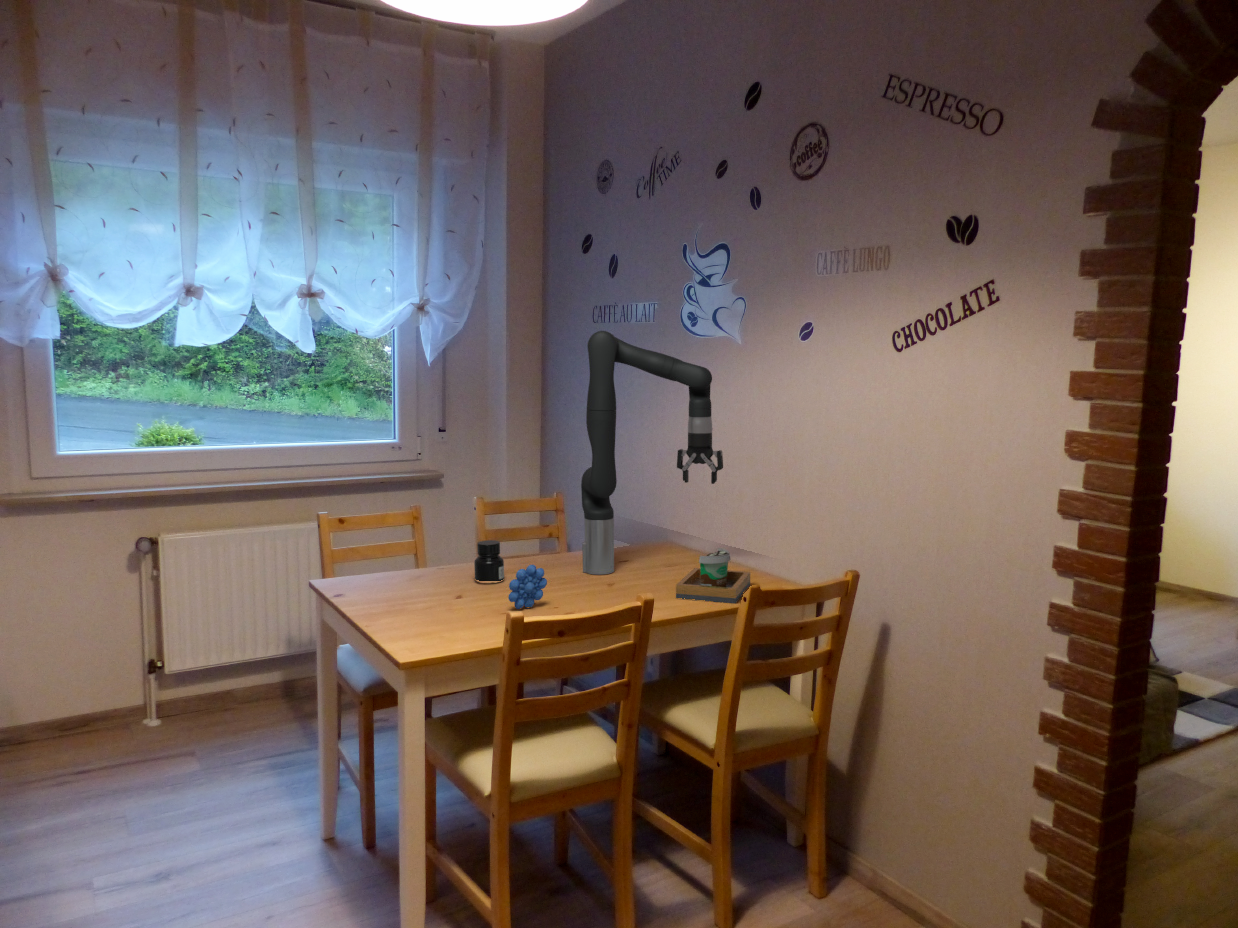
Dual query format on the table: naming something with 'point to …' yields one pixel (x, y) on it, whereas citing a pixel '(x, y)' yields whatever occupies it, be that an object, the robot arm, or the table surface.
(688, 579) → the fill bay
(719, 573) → the food container
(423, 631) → the table surface
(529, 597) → the grapes
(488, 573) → the ink bottle
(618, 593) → the table surface
